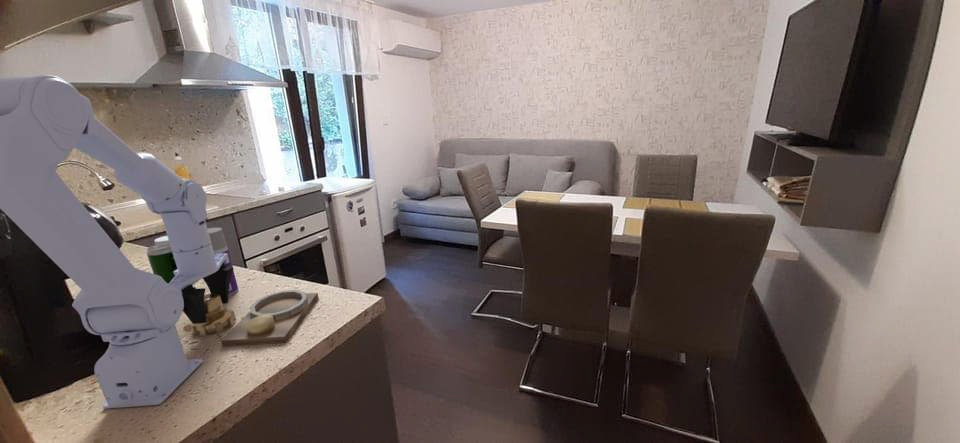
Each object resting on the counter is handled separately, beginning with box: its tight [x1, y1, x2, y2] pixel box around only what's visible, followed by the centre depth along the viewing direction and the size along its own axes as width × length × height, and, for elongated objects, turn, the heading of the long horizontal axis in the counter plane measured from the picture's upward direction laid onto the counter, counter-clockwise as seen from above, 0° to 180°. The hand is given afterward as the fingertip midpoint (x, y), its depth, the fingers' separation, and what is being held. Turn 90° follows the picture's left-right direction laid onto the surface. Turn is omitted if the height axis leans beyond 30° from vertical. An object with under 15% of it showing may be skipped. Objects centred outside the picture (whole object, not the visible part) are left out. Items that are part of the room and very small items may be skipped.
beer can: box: [146, 242, 177, 284], centre depth 82 cm, size 5×5×12 cm
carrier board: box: [220, 289, 319, 347], centre depth 73 cm, size 16×11×3 cm
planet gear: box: [190, 293, 236, 337], centre depth 71 cm, size 7×7×6 cm
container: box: [207, 227, 239, 297], centre depth 82 cm, size 5×5×15 cm
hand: (211, 312), depth 71 cm, fingers open, 6 cm apart
